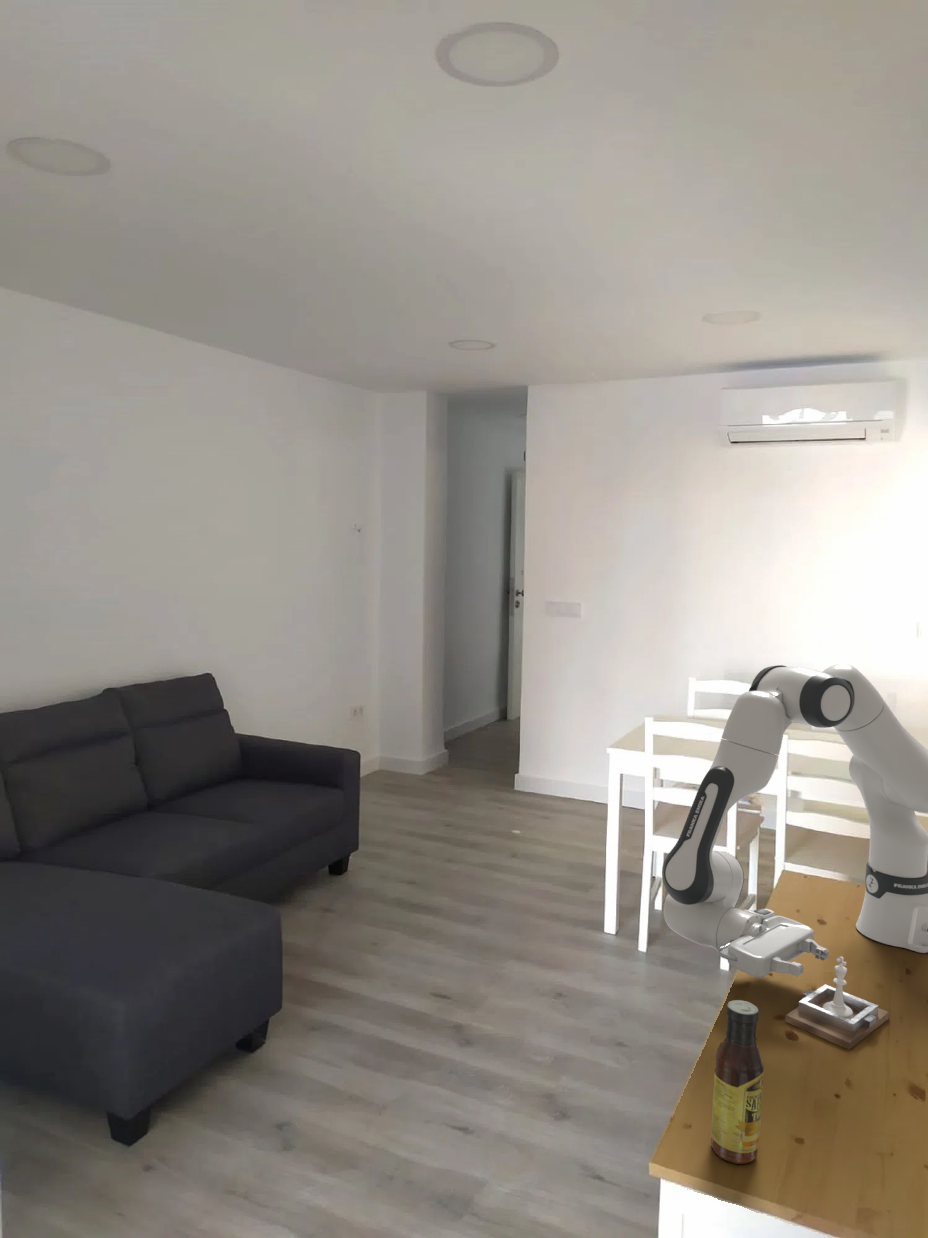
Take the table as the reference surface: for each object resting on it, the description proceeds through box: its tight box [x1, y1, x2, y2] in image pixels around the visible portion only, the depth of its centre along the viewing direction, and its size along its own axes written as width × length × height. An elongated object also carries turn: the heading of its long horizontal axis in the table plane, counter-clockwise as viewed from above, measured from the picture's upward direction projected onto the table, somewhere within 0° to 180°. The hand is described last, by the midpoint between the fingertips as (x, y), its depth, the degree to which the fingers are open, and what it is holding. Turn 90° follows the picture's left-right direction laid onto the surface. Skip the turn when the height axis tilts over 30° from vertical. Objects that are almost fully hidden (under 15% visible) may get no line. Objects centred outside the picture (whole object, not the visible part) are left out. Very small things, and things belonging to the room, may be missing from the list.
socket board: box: [785, 998, 890, 1050], centre depth 153 cm, size 11×15×1 cm
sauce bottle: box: [710, 999, 765, 1165], centre depth 119 cm, size 6×6×20 cm
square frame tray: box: [797, 983, 879, 1035], centre depth 153 cm, size 12×10×2 cm
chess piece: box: [823, 956, 853, 1020], centre depth 153 cm, size 5×5×10 cm
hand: (814, 963), depth 156 cm, fingers open, 8 cm apart
